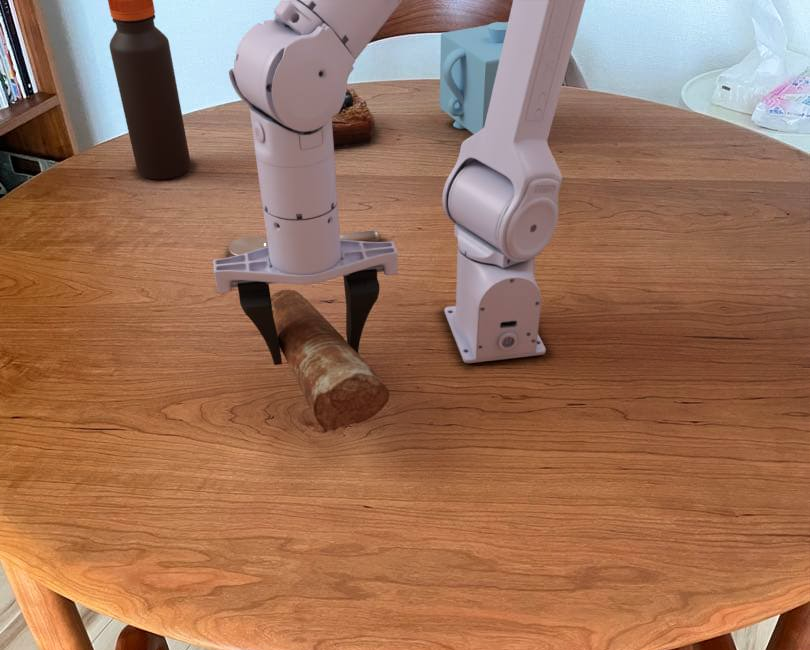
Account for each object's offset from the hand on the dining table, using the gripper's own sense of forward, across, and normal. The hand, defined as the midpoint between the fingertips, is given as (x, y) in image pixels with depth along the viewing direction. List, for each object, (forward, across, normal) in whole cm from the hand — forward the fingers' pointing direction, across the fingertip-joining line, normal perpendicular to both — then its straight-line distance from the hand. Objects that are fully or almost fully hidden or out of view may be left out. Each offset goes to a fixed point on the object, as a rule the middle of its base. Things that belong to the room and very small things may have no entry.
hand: (315, 353), depth 78 cm
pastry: (+5, -8, -59) cm, 60 cm away
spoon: (+5, -1, -28) cm, 28 cm away
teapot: (+5, -31, -53) cm, 62 cm away
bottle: (+5, +14, -52) cm, 54 cm away
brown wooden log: (+2, +1, +1) cm, 2 cm away
